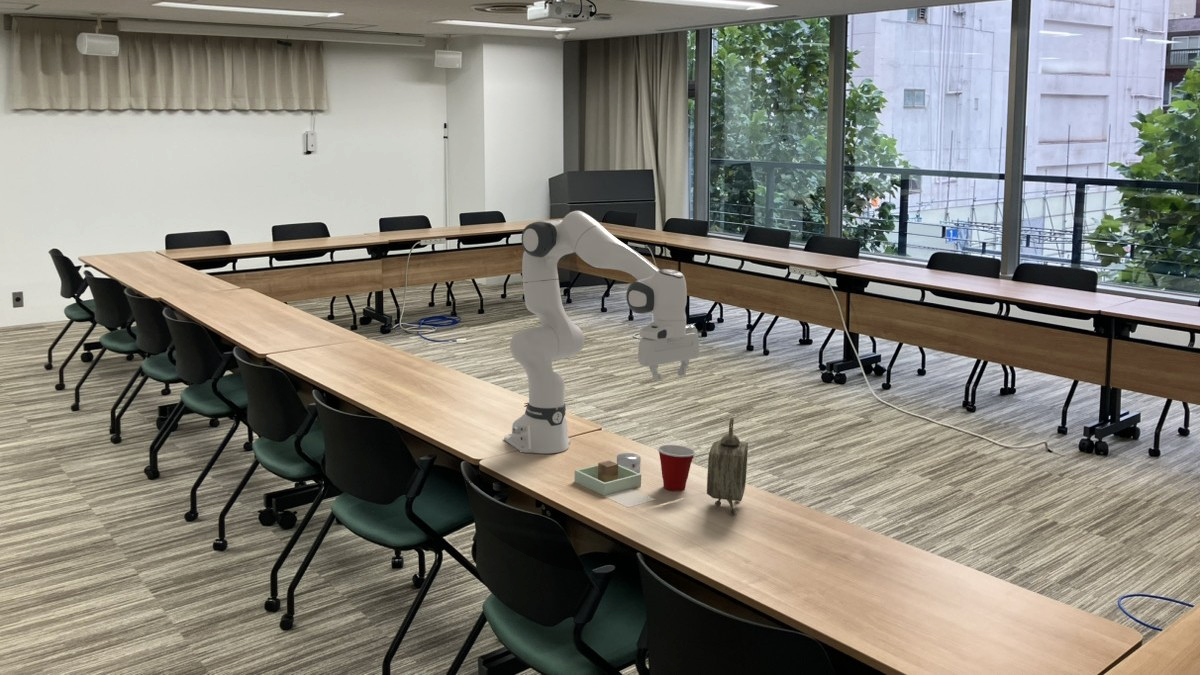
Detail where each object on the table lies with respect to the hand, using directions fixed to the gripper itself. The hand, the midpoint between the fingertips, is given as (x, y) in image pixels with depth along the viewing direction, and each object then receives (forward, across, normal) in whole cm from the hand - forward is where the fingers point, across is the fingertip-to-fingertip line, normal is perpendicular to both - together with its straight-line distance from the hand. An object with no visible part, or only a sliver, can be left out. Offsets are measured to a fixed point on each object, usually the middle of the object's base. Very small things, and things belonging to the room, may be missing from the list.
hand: (669, 377), depth 284 cm
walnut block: (+31, +13, -11) cm, 35 cm away
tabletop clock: (+33, -3, +20) cm, 39 cm away
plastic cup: (+32, -1, +2) cm, 32 cm away
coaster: (+32, +15, +1) cm, 35 cm away
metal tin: (+32, +1, -16) cm, 35 cm away
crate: (+32, +13, -11) cm, 36 cm away
